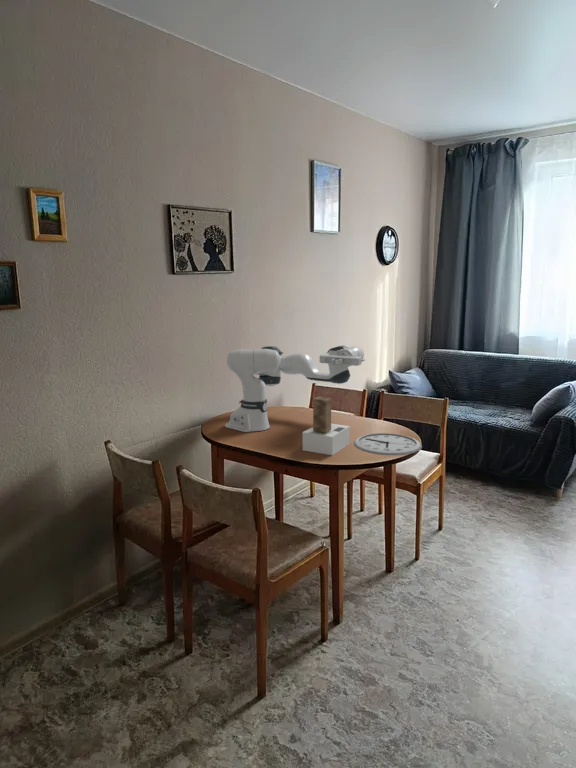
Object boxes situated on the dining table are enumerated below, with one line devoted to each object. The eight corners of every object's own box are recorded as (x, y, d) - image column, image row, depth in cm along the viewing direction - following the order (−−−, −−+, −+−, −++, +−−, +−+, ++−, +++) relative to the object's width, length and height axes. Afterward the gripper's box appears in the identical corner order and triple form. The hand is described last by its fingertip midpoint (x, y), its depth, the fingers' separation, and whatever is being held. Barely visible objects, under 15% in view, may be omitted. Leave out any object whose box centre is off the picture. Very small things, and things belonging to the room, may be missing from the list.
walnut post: (313, 431, 227) (313, 399, 224) (318, 428, 231) (318, 396, 228) (326, 433, 224) (326, 400, 221) (331, 430, 228) (331, 398, 225)
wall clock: (436, 447, 227) (374, 456, 217) (436, 451, 227) (374, 460, 217) (398, 428, 254) (341, 436, 244) (398, 432, 255) (341, 439, 244)
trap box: (302, 450, 229) (302, 432, 227) (321, 439, 244) (321, 421, 242) (332, 455, 222) (332, 436, 220) (349, 443, 237) (349, 425, 235)
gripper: (366, 366, 253) (354, 370, 242) (326, 363, 263) (314, 367, 252) (366, 352, 252) (355, 356, 240) (327, 350, 262) (314, 354, 250)
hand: (333, 362), depth 246 cm, fingers closed
